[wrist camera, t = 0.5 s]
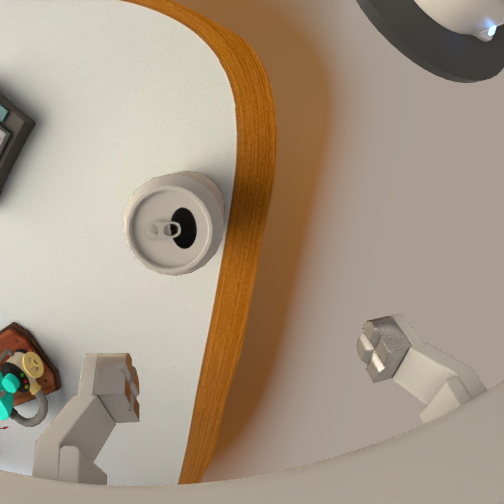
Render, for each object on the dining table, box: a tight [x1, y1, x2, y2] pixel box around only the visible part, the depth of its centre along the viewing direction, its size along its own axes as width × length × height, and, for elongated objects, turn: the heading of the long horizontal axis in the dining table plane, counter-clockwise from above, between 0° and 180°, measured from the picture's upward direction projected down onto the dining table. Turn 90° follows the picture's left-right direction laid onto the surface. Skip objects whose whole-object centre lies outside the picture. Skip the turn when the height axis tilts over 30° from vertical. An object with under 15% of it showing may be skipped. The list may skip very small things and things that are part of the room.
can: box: [123, 171, 225, 276], centre depth 27 cm, size 8×8×12 cm
